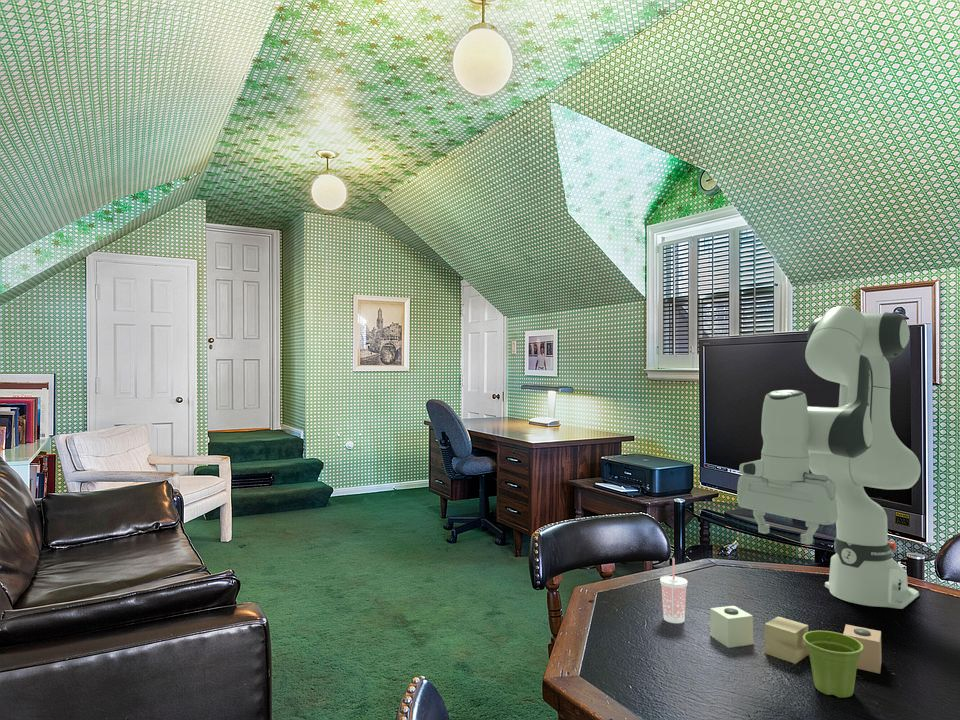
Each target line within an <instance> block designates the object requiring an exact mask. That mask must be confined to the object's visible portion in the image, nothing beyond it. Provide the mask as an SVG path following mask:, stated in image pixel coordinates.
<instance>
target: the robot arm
mask: <svg viewBox="0 0 960 720" xmlns="http://www.w3.org/2000/svg"><path fill="white" fill-rule="evenodd" d="M910 335H911V333H910V327H909V325H908V322H907V320H906V318H905V317H904V316H903V315H902V314H901V313H900V314H899V313H895V312H894V313H893V312H886V311H885V312H883V313H878V312H861V311H860V310H858V309H856V308H854V307H852V306H847V305H838V306H834V307H832V308H830V309H829V310H827V311H826V312H825V313H824V314H823V316H821V317H818V318H815V319H814V320H813V321H811V323H809V326H808V329H807V344H806V348H805V352H804V353H805V354H804V358H805V361H806V364H807V365H808V367H809V369H810V370H811V372H813V373H814V374H815V375H817V376H818V377H820V378H821V379H824V380H826V381H828V382H833V383H837V384H839V397H838V406H837V407H833V406H831V407H830V406H811V405H808V401H807V395H806V393H804V392H803V391H801V390H798V389H780V390H778V389H777V390H773V391H770V392H769V393H766V395H765V396H764V400H763V404H762V411H761V425H760V426H761V431H760V432H761V438H762V443H763V444H762V449H761V450H760V451H761V452H760V453H761V455H760V459H757V460H753V461H748V462H743V463H740V464H739V467H738V468H739V469H738V470H739V473H740V474H741V475H740V476H739V477H738V481H737V487H736V488H737V489H736V490H737V492H736V493H737V494H736V499H737V503H738V505H739V507H740V508H742V509H743V508H744V509H748V510H752V515H753V517H754V520H755V521H756V524H757V527H758V529H757V531H758V533H760V534H765V535H767V534H769V533H771V532H770V529H771V527H770V524H768V523H767V521H766V519H765V517H764V516H766V513H767V514H771V515H775V516H780V517H785V518H790V519H793V520H794V519H795V520H799V521H804V522H805V527H806V528H807V530H806V532H805V533H800V543H801V544H804V545H813V543H814V535H815V533H816V532H817V531H818V529H819V528H820V527H819V526H820V525H822V526H829V525H834V524H836V525H835V526H836V536H835V538H834V542H833V546H834V552H835V554H833V555H831V557H830V563H829V564H830V565H829V574H828V575H829V577H828V581H825V582H824V587H825V588H827V589H828V590H829V592H830V594H831V595H832V596H833V597H835V598H838V599H840V600H842V601H845V602H848V603H853V604H857V605H860V606H868V607H880V608H890V609H899V610H900V609H901V610H903V609H905V607H907V606H908V605H909V604H911V603H912V602H913V601H914V600H915V599H917V598H918V597H919V596H920V591H918V590H916V588H913V587H910V586H908V583H909V582H908V574H907V571H906V569H904V568H903V567H902V566H901V565H900V564H899V563H898V562H896V560H895V559H893V554H892V551H897V548H898V547H897V543H896V542H894V541H889V540H888V516H887V513H886V511H885V509H884V508H883V507H882V506H881V505H880V504H879V503H877V502H876V501H874V500H873V499H871V498H870V497H869V495H868V494H867V493H866V490H865V488H864V487H868V488H874V489H879V490H880V489H881V490H906V489H907V490H908V489H910V488H912V487H913V486H914V485H915V484H917V482H918V481H919V479H920V476H921V463H920V461H919V458H918V456H917V455H916V454H915V452H913V451H912V450H911V449H910V448H908V447H907V446H906V445H905V444H904V443H903V442H902V441H901V440H900V439H899V437H898V435H897V434H896V431H895V430H894V427H893V424H892V420H891V370H890V363H891V362H893V361H894V359H895V358H896V357H898V356H900V355H902V354H903V352H904V351H905V350H906V348H907V347H908V344H909V341H910V337H911V336H910Z"/></svg>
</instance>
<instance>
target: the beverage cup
mask: <svg viewBox="0 0 960 720" xmlns="http://www.w3.org/2000/svg"><path fill="white" fill-rule="evenodd" d="M675 561H676V560H675V557H672V575H665V576H662V577H660V578H659V581H660V585H661V599H662V612H663V620H664V621H665V622H668V623H671V624H682V623H684V622H685V615H686V602H687V601H686V599H687V598H686V597H687V586H688V583H689V582H688V579H686V578H684V577H681V576H676V575H675V574H676V572H675V571H676V567H675V566H676V565H675V564H676V563H675Z"/></svg>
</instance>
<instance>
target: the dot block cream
mask: <svg viewBox="0 0 960 720" xmlns="http://www.w3.org/2000/svg"><path fill="white" fill-rule="evenodd" d="M709 610H710V611H709V612H710V614H709V615H710V617H709V618H710V620H709V621H710V623H709V624H710V628H709V629H710V630H709V631H710V635H709V636H710V637H711V636H712V637H711V638H713V639H714V638H715V639H714V640H716V641H717V642H718V643H720V644H722V645H724V646H725V647H726V648H728V649H729V648H735V647H742V646H743V647H745V646H751V645H752V646H753V645H754V615H752V614H751V613H749V612H747V611H744V610H743V609H741V608H740V607H737V606H735V605H727V606H719V607H710V609H709Z"/></svg>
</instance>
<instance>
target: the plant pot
mask: <svg viewBox="0 0 960 720" xmlns="http://www.w3.org/2000/svg"><path fill="white" fill-rule="evenodd" d="M803 640H804V641H805V643H806V646H807V649H808V651H809V655H808V657H809V661H810V666H811V673H812V678H813V685H814V688H815V689H817V691H819V692H820V693H822V694H823V695H827V696H831V695H833V696H835V697H837V698H843V699H844V698H849V697H852V696H853V694H854V691H855V684H856V683H855V682H856V677H857V670H858V669H857V663H858V659H859V657H860V652H862V651H863V645H862V644H861V642H859V641H858V640H856V639H854V638H852V637H850V636H847V635H844V634H843V633H840V632H836V631H831V630H830V631H829V630H811V631H808V632H807V633H805V634H804V635H803Z"/></svg>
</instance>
